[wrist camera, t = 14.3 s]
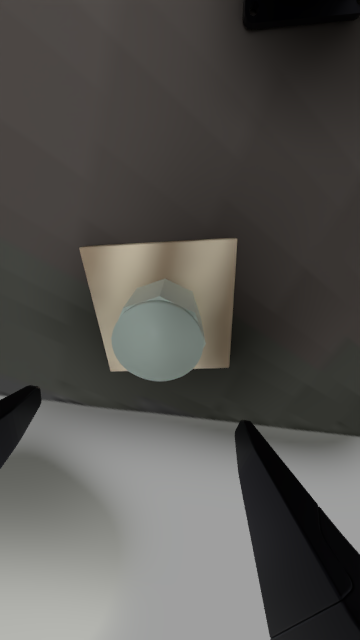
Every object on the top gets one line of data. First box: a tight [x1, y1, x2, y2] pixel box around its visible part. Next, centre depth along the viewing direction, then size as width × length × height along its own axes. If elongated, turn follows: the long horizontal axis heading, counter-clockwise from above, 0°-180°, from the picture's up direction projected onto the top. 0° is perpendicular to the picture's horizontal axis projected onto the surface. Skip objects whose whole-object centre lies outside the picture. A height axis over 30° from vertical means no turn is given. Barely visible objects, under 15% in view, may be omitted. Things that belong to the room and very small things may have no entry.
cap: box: [111, 279, 206, 381], centre depth 15 cm, size 6×6×5 cm
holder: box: [79, 238, 237, 371], centre depth 17 cm, size 12×12×3 cm
